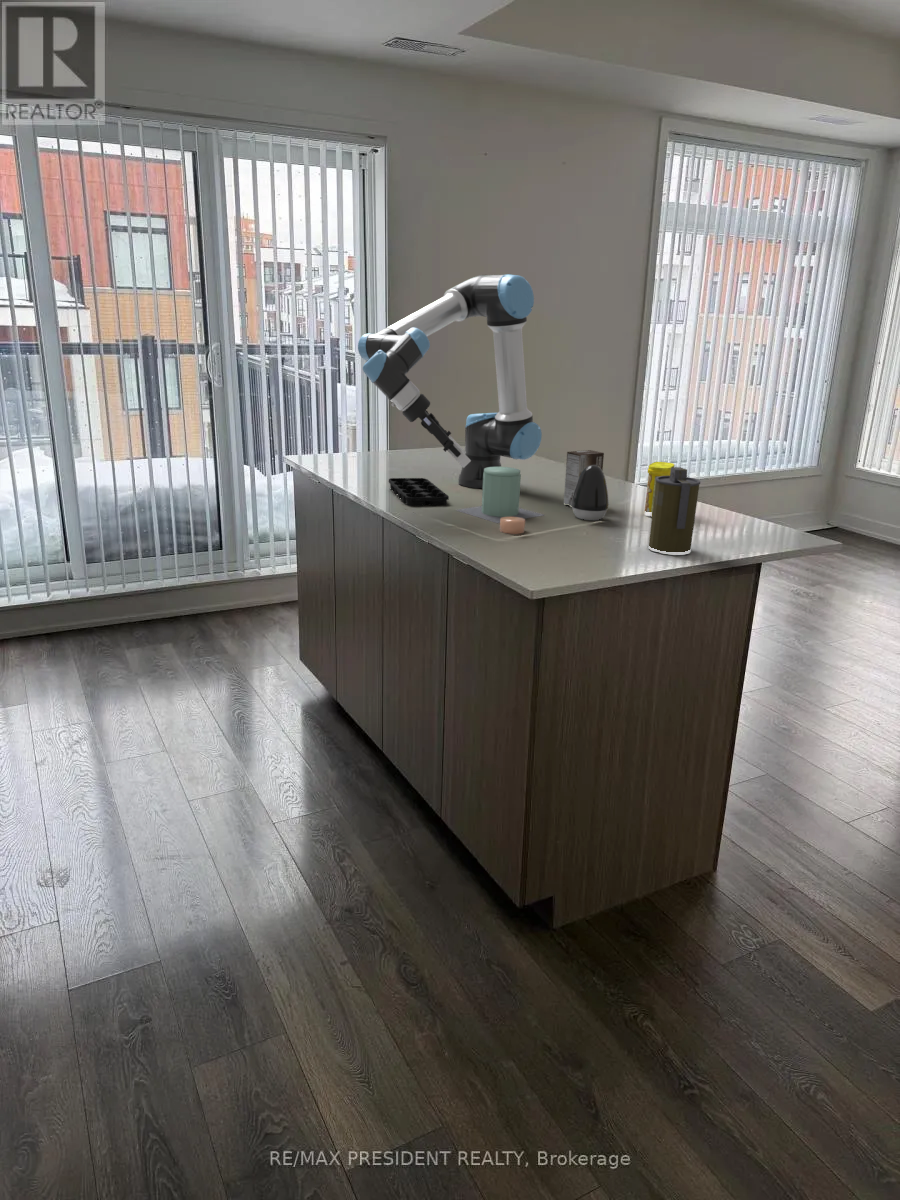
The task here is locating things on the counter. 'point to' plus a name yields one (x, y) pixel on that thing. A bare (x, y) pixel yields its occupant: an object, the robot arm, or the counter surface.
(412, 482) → the egg carton
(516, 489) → the faceted lidded jar
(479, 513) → the mat
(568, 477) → the coffee box
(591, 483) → the black egg-shaped device
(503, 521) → the pink rounded puck
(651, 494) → the canister
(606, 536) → the counter surface
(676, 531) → the canister
